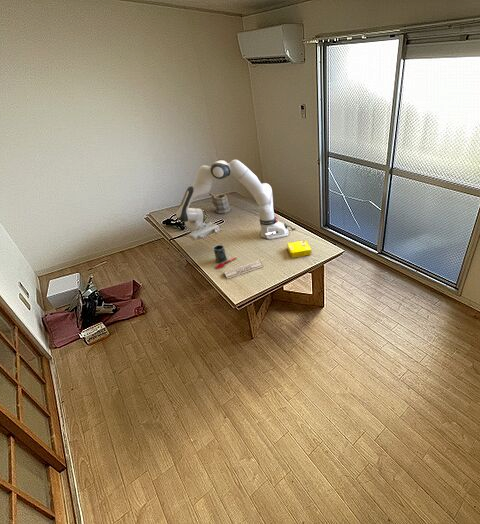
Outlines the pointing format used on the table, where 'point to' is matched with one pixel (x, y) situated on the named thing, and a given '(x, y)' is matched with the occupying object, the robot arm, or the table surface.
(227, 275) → the newspaper
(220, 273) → the table surface
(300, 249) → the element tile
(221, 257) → the mug
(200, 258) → the table surface
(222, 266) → the spoon
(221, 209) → the tankard
